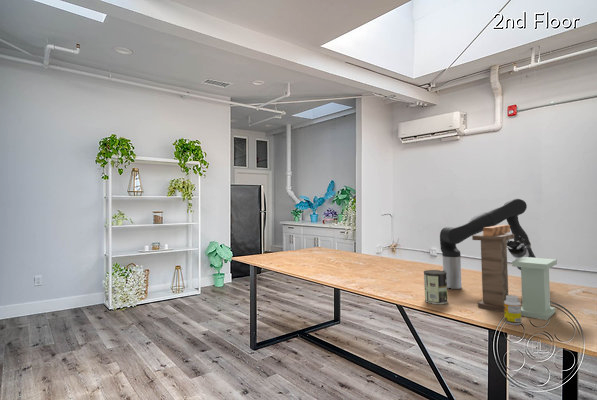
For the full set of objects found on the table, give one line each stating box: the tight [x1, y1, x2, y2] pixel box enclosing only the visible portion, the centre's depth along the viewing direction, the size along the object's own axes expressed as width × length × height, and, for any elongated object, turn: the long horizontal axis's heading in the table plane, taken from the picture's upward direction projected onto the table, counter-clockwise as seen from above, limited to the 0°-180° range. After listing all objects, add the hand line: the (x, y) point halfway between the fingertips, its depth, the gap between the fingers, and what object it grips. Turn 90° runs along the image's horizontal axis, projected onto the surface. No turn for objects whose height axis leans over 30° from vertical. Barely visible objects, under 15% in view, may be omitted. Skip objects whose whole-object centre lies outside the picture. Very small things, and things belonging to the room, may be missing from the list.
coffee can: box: [423, 269, 449, 305], centre depth 166 cm, size 10×10×14 cm
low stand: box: [511, 257, 558, 321], centre depth 145 cm, size 16×12×22 cm
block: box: [482, 224, 511, 236], centre depth 160 cm, size 24×4×4 cm, turn 133°
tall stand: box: [471, 233, 514, 313], centre depth 156 cm, size 16×12×32 cm
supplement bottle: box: [503, 294, 522, 326], centre depth 134 cm, size 6×6×10 cm
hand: (509, 237), depth 171 cm, fingers open, 8 cm apart
